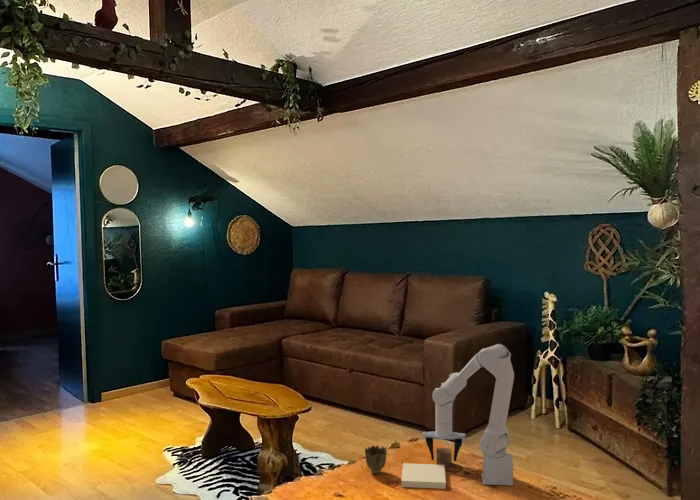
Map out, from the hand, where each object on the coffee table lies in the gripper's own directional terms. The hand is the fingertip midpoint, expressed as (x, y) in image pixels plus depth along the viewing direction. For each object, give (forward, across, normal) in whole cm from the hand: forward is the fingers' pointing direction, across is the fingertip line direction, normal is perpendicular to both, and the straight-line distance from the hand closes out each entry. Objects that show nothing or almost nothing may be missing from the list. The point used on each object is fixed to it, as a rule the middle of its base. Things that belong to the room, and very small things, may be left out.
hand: (443, 459), depth 211 cm
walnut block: (+2, 0, 0) cm, 2 cm away
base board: (+2, +7, +12) cm, 14 cm away
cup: (+2, +23, +9) cm, 25 cm away
